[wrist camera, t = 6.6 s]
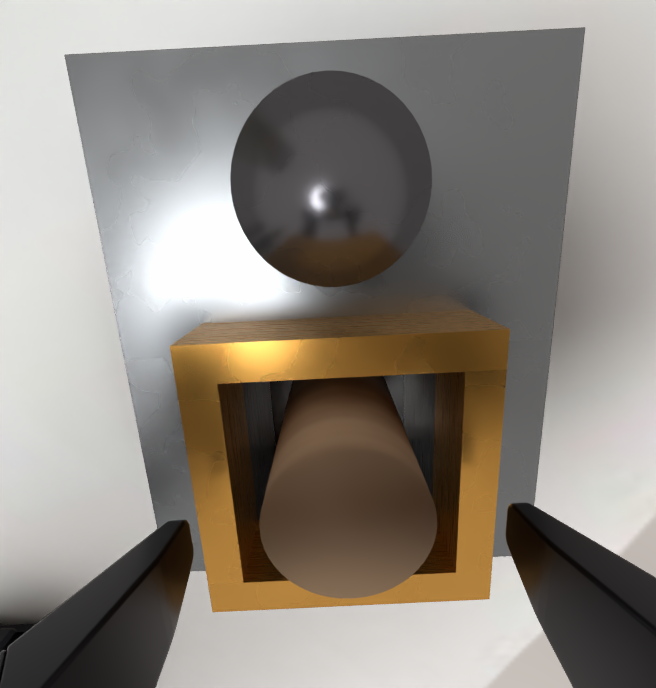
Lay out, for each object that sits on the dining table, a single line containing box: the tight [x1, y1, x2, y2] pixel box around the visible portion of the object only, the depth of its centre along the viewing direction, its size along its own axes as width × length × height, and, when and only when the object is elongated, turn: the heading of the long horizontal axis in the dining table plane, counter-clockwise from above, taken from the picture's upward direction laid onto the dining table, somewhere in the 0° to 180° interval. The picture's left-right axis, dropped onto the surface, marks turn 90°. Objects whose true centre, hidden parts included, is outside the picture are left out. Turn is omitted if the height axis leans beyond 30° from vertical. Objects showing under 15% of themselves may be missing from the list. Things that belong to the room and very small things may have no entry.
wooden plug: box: [259, 376, 437, 599], centre depth 13 cm, size 4×4×9 cm
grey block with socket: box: [65, 27, 585, 612], centre depth 13 cm, size 16×13×8 cm
